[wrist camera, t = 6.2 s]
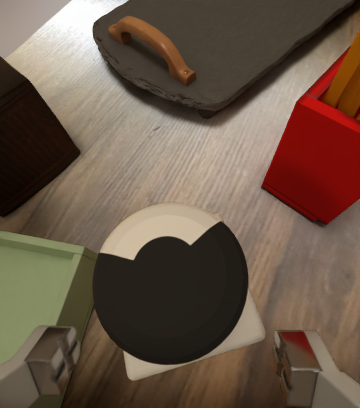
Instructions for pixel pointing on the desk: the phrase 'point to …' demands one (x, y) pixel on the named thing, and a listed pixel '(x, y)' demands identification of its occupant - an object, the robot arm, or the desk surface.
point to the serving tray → (206, 44)
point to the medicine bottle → (174, 289)
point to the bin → (42, 292)
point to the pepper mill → (28, 140)
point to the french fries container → (322, 144)
